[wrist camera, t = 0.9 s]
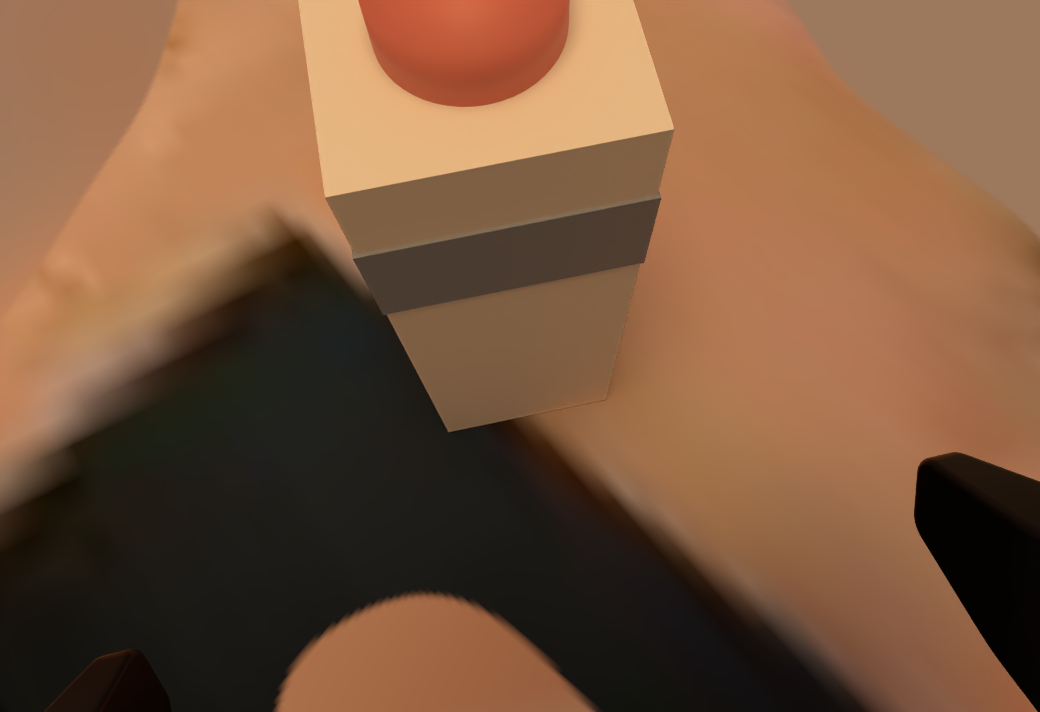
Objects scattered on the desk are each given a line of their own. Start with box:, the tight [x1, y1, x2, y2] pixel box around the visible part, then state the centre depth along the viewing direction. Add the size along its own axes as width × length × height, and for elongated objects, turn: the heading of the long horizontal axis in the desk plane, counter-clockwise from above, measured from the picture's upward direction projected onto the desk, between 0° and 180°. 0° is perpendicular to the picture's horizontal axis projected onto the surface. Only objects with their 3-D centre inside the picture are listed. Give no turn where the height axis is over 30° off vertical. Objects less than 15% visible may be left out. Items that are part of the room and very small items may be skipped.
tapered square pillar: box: [298, 0, 674, 432], centre depth 18 cm, size 5×5×15 cm
